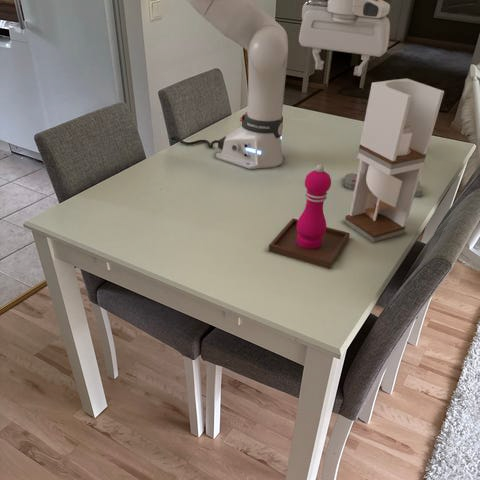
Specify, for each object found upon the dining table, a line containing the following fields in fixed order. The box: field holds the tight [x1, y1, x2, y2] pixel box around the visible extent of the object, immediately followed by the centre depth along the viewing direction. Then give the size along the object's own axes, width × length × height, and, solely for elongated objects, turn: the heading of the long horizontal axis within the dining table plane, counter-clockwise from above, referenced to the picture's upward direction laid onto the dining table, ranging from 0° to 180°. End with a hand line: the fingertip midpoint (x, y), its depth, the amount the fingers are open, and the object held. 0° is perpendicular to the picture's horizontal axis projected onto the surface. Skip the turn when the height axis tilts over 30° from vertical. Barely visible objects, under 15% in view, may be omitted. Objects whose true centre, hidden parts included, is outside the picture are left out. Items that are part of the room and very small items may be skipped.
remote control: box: [344, 172, 422, 198], centre depth 149 cm, size 8×23×2 cm, turn 79°
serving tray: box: [268, 217, 350, 269], centre depth 121 cm, size 16×16×2 cm
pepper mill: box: [296, 164, 332, 249], centre depth 115 cm, size 7×7×20 cm
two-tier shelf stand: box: [344, 78, 445, 243], centre depth 119 cm, size 11×11×35 cm
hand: (337, 72), depth 115 cm, fingers open, 8 cm apart
